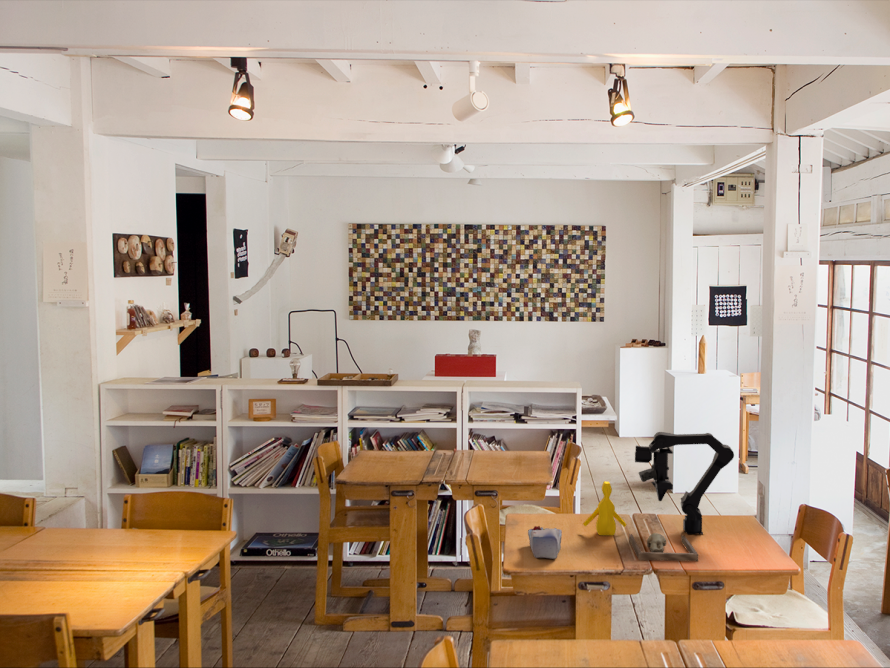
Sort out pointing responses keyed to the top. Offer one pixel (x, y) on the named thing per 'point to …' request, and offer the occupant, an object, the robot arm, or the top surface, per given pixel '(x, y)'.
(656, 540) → the sculpture
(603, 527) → the figure statuette
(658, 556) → the holder
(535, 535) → the grey tapered container
